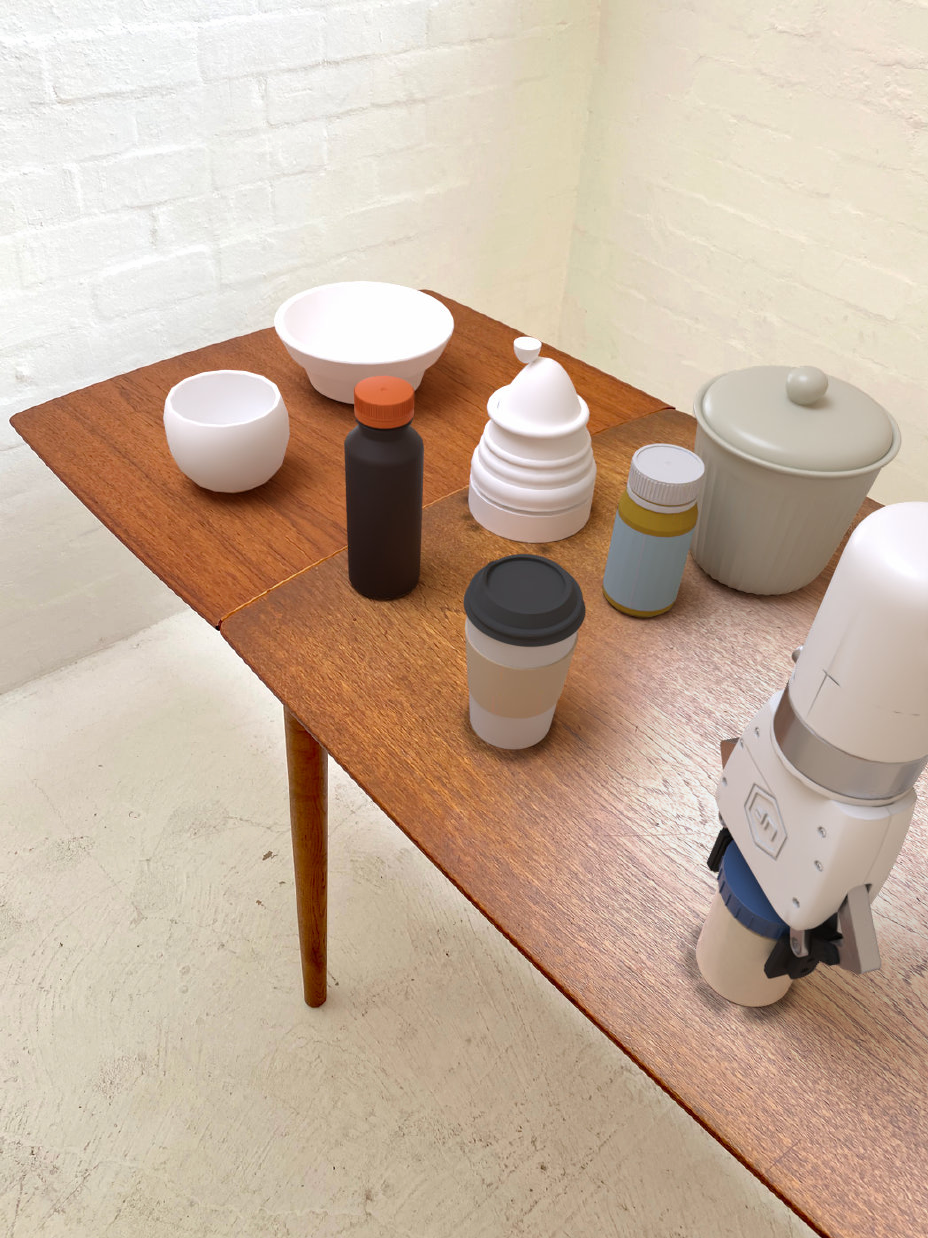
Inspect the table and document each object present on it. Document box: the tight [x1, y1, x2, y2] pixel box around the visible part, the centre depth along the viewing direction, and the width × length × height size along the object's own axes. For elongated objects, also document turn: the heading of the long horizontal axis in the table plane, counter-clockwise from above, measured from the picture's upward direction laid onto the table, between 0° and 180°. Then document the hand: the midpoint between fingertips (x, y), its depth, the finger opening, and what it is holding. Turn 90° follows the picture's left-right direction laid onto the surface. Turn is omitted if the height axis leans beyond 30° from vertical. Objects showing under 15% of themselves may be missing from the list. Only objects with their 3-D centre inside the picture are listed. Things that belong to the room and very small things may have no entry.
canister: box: [689, 364, 903, 596], centre depth 91 cm, size 18×18×21 cm
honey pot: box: [467, 336, 598, 544], centre depth 97 cm, size 13×13×18 cm
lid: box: [716, 840, 824, 941], centre depth 59 cm, size 7×7×2 cm
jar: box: [695, 885, 794, 1008], centre depth 63 cm, size 6×6×10 cm
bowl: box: [273, 281, 455, 405], centre depth 118 cm, size 21×21×8 cm
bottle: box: [601, 443, 705, 618], centre depth 88 cm, size 7×7×15 cm
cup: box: [162, 369, 291, 494], centre depth 101 cm, size 12×12×10 cm
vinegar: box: [343, 376, 425, 600], centre depth 86 cm, size 7×7×20 cm
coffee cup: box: [463, 553, 587, 750], centre depth 76 cm, size 9×9×15 cm
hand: (757, 913), depth 62 cm, fingers closed on lid, 6 cm apart
